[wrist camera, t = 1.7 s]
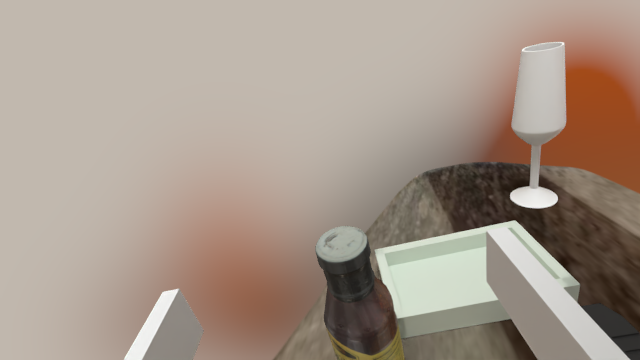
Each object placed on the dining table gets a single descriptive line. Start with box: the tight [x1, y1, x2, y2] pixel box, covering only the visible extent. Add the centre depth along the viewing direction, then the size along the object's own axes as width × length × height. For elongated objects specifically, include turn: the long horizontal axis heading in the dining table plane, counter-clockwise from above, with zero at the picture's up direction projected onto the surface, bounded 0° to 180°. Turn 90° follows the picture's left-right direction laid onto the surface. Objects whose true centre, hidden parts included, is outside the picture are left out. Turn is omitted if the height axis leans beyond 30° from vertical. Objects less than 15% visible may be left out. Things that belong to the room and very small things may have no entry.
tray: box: [375, 221, 580, 339], centre depth 40 cm, size 20×12×4 cm, turn 92°
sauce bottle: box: [316, 226, 405, 360], centre depth 28 cm, size 7×6×20 cm
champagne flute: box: [510, 42, 566, 208], centre depth 48 cm, size 7×7×24 cm
